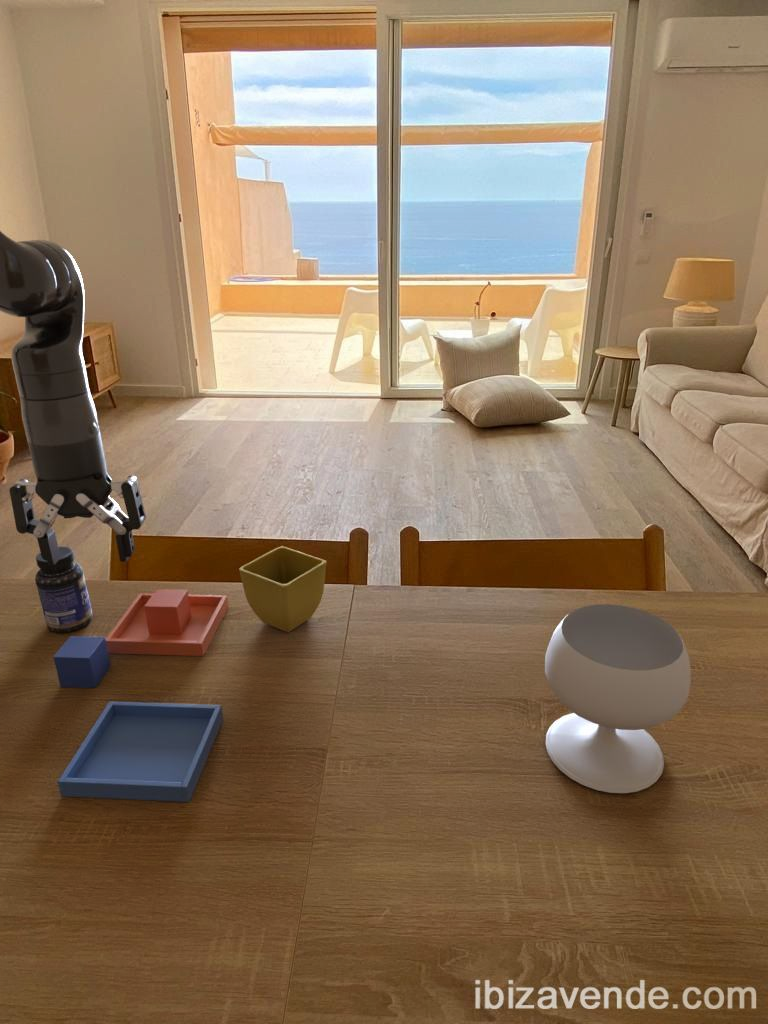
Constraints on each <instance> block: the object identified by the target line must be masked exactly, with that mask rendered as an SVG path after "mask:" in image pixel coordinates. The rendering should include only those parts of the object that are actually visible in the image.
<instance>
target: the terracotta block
mask: <svg viewBox="0 0 768 1024" xmlns="http://www.w3.org/2000/svg"><path fill="white" fill-rule="evenodd" d="M152 594H153V595H152V596H151V598H150V599H149V600H148V602H147V603H146V605H145V606H144V608H145V614H146V619H147V625H148V630H149V634H158V635H181V634H182V633H183V631H184V629H185V627H186V626H187V624H188V622H189V620H190V619H191V611H190V605H189V598H188V594H189V592H188V589H155V590H154V591H153V593H152Z"/></svg>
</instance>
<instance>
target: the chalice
mask: <svg viewBox="0 0 768 1024" xmlns="http://www.w3.org/2000/svg"><path fill="white" fill-rule="evenodd" d="M687 650H688V649H687V647H686V645H685V643H684V640H683V638H682V637H681V635H680V633H678V631H677V629H675V628H674V627H673V626H672V625H671V624H669V622H668V621H666V620H664V619H662V618H661V617H659V616H658V615H655V614H653V613H651V612H648V611H645V610H642V609H639V608H636V607H632V606H627V605H622V604H613V603H611V604H610V603H601V604H600V603H599V604H597V603H596V604H590V605H585V606H581V607H579V608H576V609H574V610H573V611H571V612H569V613H568V614H567V615H566V616H564V618H563V619H562V620H561V621H560V622H559V623H558V625H557V626H556V628H555V630H554V631H553V633H552V636H551V638H550V640H549V643H548V646H547V648H546V652H545V655H544V673H545V676H546V680H547V683H548V685H549V688H550V690H551V691H552V693H553V694H554V695H555V697H556V698H557V700H558V701H559V702H561V704H562V705H563V706H564V707H565V708H566V709H567V710H568V711H570V712H572V713H567V714H565V715H563V716H561V717H560V718H558V719H556V720H555V721H554V722H553V723H552V724H551V725H550V726H549V728H548V730H547V732H546V734H545V747H546V751H547V754H548V756H549V757H550V759H551V761H552V763H553V764H554V765H555V766H556V767H557V768H558V770H560V771H561V772H562V773H563V774H564V775H565V776H566V777H568V778H569V779H571V780H573V781H575V782H577V783H578V784H580V785H582V786H585V787H587V788H590V789H593V790H596V791H598V792H599V791H600V792H603V793H604V792H605V793H610V794H629V793H636V792H640V791H642V790H645V789H647V788H649V787H651V786H652V785H654V784H655V783H656V782H657V781H658V780H659V778H660V777H661V775H662V774H663V772H664V771H663V770H664V768H665V759H664V754H663V752H662V749H661V747H660V745H659V744H658V743H657V741H656V740H655V738H653V736H652V735H651V734H650V733H649V732H647V731H646V730H647V729H651V728H655V727H657V726H660V725H663V724H664V723H666V722H668V721H670V720H671V719H673V718H674V717H675V716H677V715H678V714H679V712H680V711H681V710H682V709H683V708H684V706H685V704H686V703H687V701H688V699H689V695H690V692H691V682H692V681H691V680H692V671H691V670H692V669H691V662H690V656H689V654H688V653H689V652H688V651H687Z"/></svg>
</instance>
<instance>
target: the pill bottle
mask: <svg viewBox="0 0 768 1024" xmlns="http://www.w3.org/2000/svg"><path fill="white" fill-rule="evenodd" d="M58 548H59V552H60V559H59V560H58V562H57V563H56V564H55V565H48V563H47V560H44V559H43V558H42V556H41V552H40V551H39V552H38V553H37V554H36V556H35V561H36V565H37V567H38V568H39V569H38V571H37V572H36V574H35V577H34V580H35V586H36V587H37V588H36V589H37V592H38V597H39V602H40V604H41V608H42V613H43V616H44V620H45V624H46V626H47V628H48V629H49V630H51V631H52V632H55V633H63V634H64V633H71V632H74V631H75V632H76V631H78V630H80V629H82V628H84V627H86V626H87V625H88V624H90V623H91V622H92V620H93V617H94V614H93V609H92V605H91V601H90V596H89V591H88V587H87V583H86V578H85V574H84V569H83V567H82V566H81V565H80V564H79V563H78V562H76V561H75V554H74V549H72V548H71V547H70V546H58Z"/></svg>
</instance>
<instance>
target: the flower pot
mask: <svg viewBox="0 0 768 1024" xmlns="http://www.w3.org/2000/svg"><path fill="white" fill-rule="evenodd" d="M326 571H327V560H325V559H322V558H319V557H316V556H313V555H310V554H307V553H304V552H302V551H298V550H295V549H292V548H289V547H286V546H283V545H281V546H279V547H276V548H274V549H272V550H270V551H268V552H266V553H264V554H263V555H261V556H259V557H257V558H255V559H253V560H252V561H250V562H247V563H245V564H243V565H242V566H240V568H238V572H239V575H240V580H241V583H242V588H243V592H244V595H245V598H246V601H247V603H248V605H249V607H250V608H251V610H252V611H253V612H254V613H253V614H255V615H256V616H257V617H258V619H259V620H260V621H261V622H262V623H264V624H267V625H269V626H271V627H273V628H277V629H278V630H281V631H283V632H285V633H290V632H291V631H293V630H294V629H296V628H297V627H299V626H300V625H302V624H303V623H305V622H306V621H309V620H310V619H311V618H312V616H314V614H315V612H316V611H317V609H318V607H319V606H320V603H321V601H322V598H323V595H324V590H325V581H326Z"/></svg>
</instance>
